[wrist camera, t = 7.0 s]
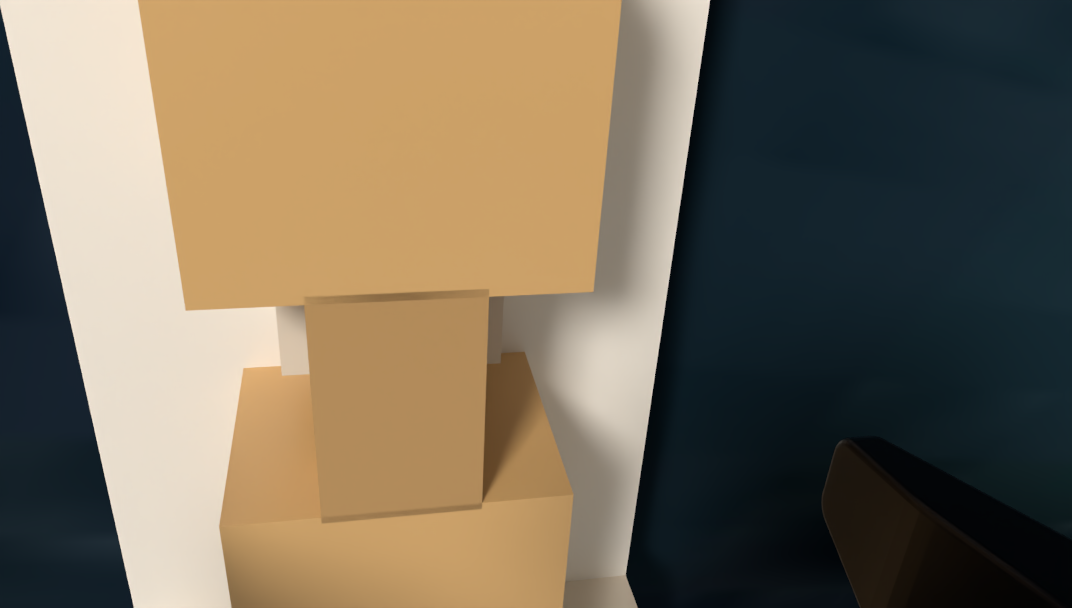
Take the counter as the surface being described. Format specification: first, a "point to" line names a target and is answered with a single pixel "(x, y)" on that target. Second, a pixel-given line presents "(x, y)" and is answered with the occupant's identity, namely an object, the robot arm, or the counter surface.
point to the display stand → (280, 332)
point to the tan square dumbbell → (387, 277)
